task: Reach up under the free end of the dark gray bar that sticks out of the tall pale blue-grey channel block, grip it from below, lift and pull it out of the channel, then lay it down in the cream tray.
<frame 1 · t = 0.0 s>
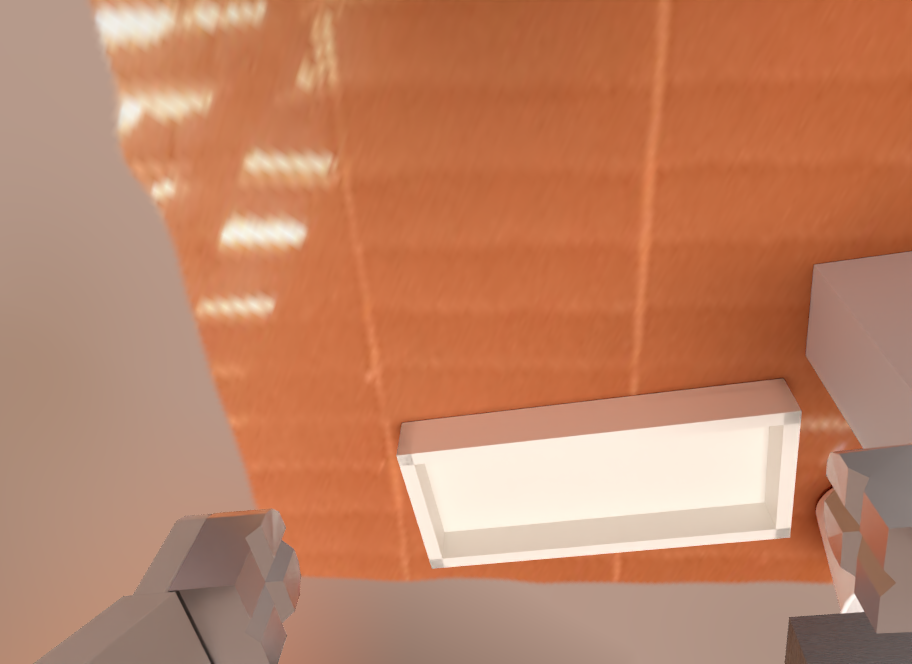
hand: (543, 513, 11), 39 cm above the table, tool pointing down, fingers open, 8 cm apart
tray: (592, 463, 63), on the table
cup: (849, 500, 64), on the table
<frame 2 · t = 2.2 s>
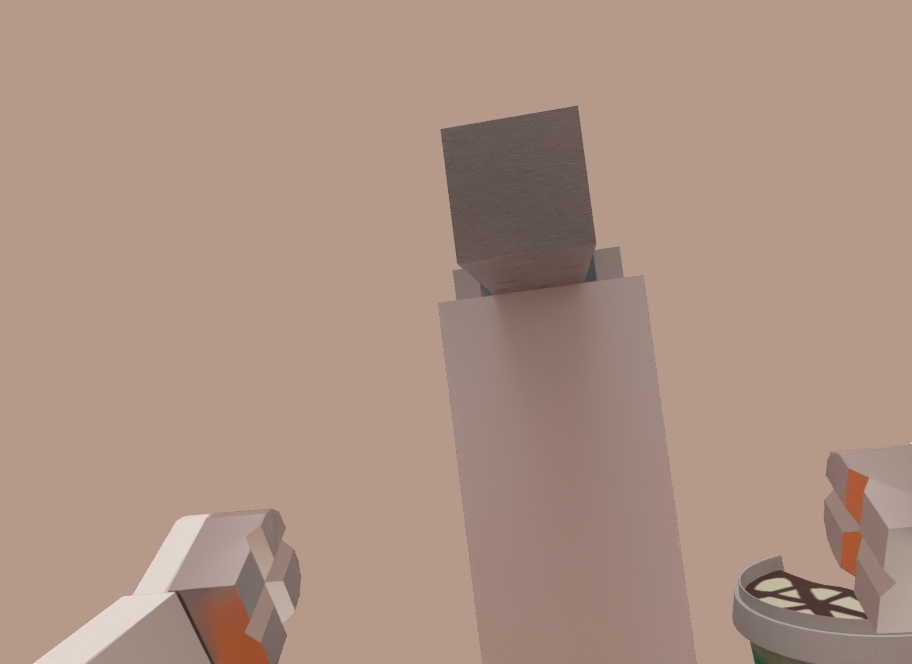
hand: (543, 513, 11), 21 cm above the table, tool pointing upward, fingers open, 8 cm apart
dark gray bar: (540, 293, 30), point 26 cm above the table, touching channel block
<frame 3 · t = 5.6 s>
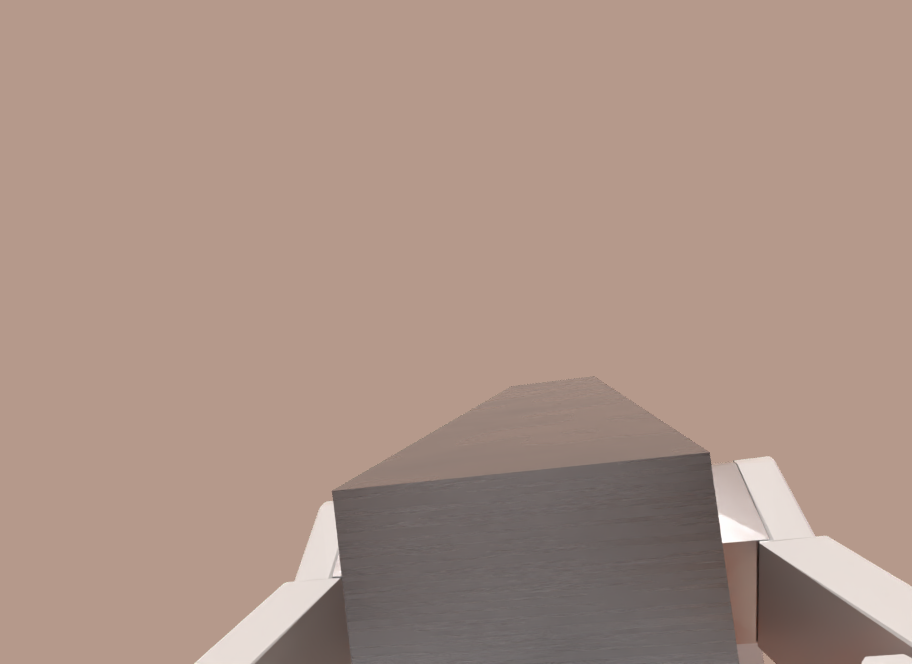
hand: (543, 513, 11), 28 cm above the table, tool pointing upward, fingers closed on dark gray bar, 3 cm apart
dark gray bar: (563, 534, 18), point 26 cm above the table, touching channel block, gripper
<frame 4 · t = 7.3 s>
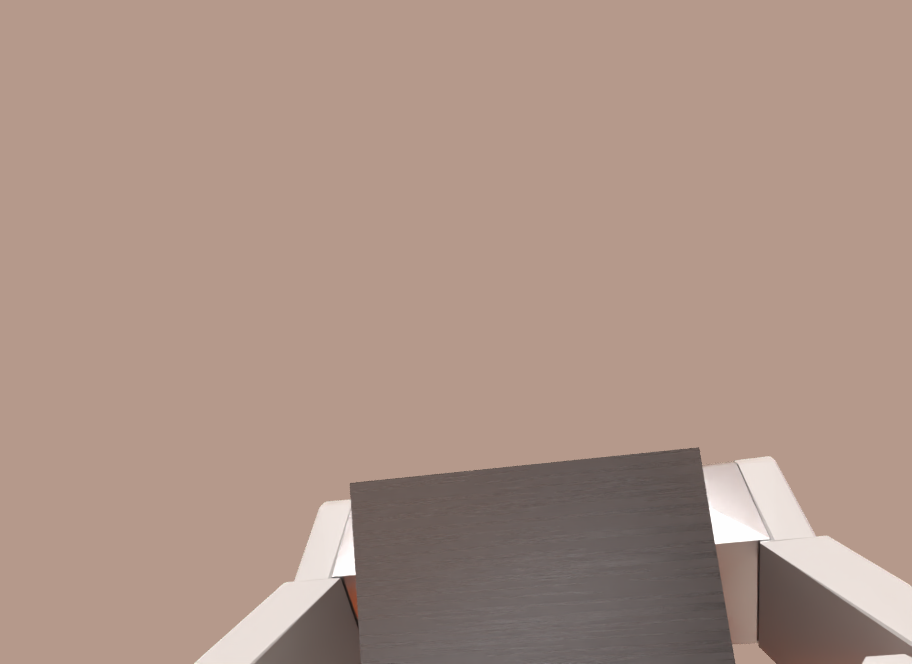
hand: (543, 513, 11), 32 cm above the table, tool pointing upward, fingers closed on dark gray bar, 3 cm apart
dark gray bar: (573, 616, 18), point 28 cm above the table, tilted 10°, touching gripper
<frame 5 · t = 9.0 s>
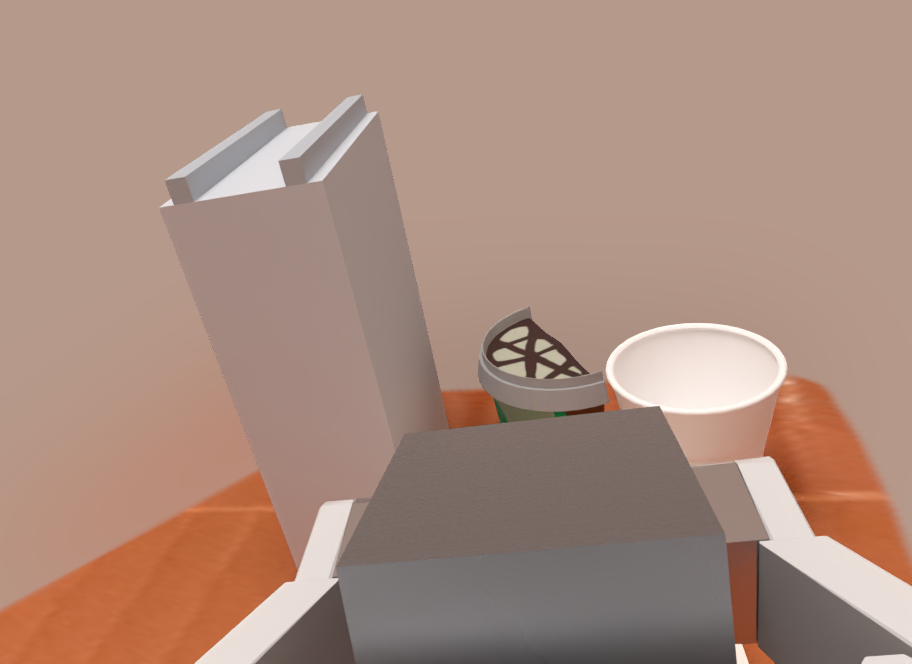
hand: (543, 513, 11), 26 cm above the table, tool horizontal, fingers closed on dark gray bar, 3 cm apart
channel block: (388, 507, 52), on the table
food container: (539, 468, 53), on the table
cup: (698, 511, 46), on the table
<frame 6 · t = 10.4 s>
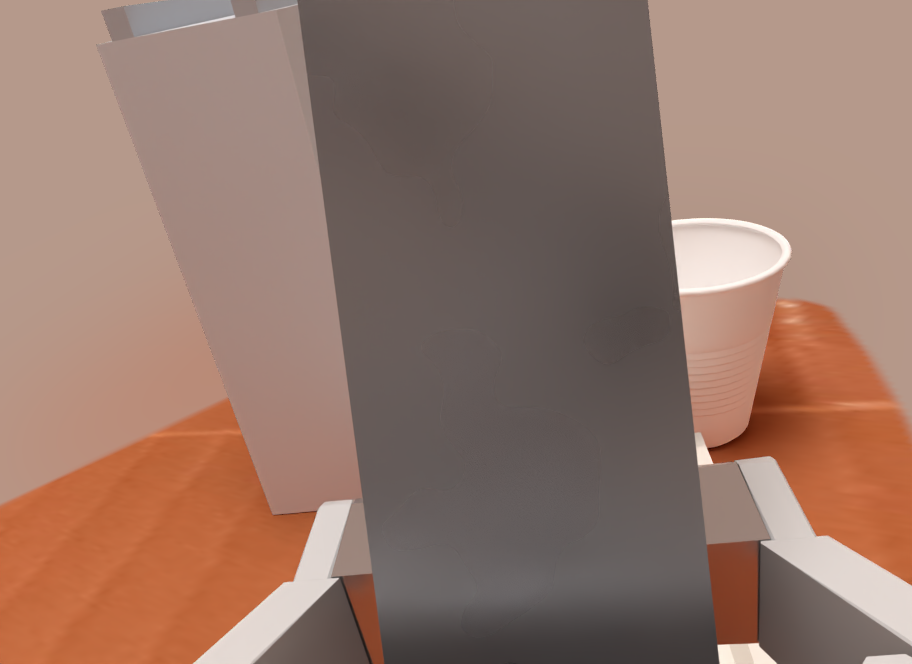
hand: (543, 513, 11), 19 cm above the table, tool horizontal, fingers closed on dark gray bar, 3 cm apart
channel block: (363, 428, 48), on the table
cup: (693, 424, 43), on the table
when the fingers open (13 cm above the table, at t = 11.7 s): dark gray bar drops 10 cm and tips over, resting on tray.
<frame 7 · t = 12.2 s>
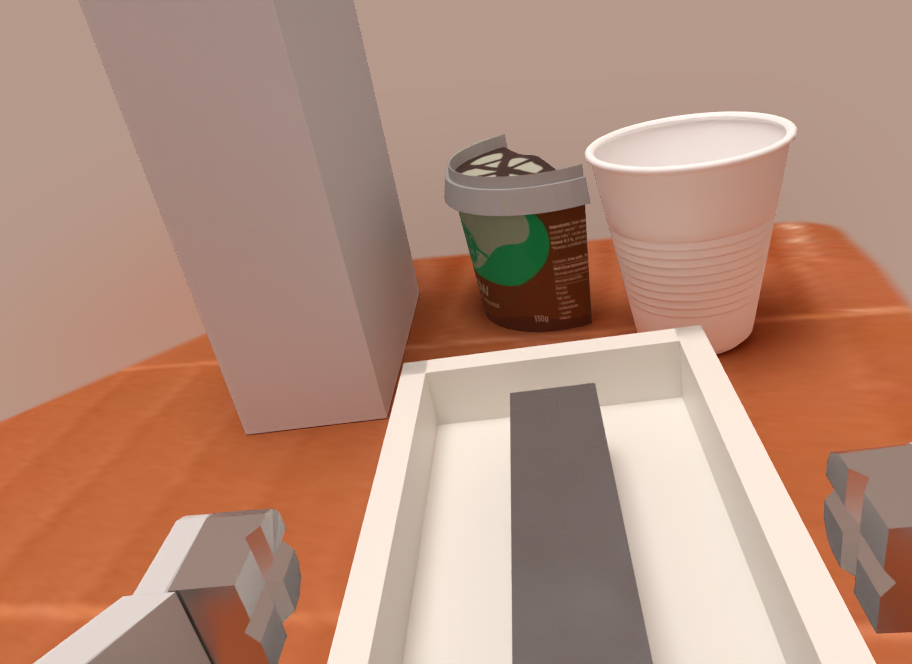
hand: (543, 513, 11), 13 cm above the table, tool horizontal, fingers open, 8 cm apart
dark gray bar: (577, 630, 19), point 4 cm above the table, tilted 180°, touching tray
channel block: (345, 353, 46), on the table
food container: (516, 312, 47), on the table
cup: (693, 335, 40), on the table
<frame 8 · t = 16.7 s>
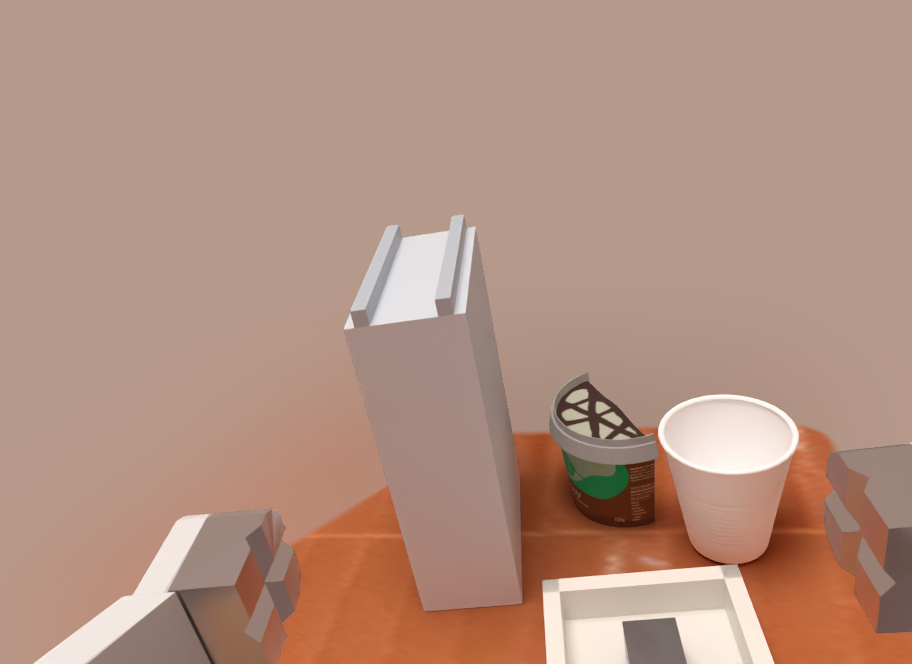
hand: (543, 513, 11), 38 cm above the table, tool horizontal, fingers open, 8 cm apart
channel block: (476, 535, 65), on the table
food container: (596, 503, 66), on the table
cup: (727, 541, 59), on the table
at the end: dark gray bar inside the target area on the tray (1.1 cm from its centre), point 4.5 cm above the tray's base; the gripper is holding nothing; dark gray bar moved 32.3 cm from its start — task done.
